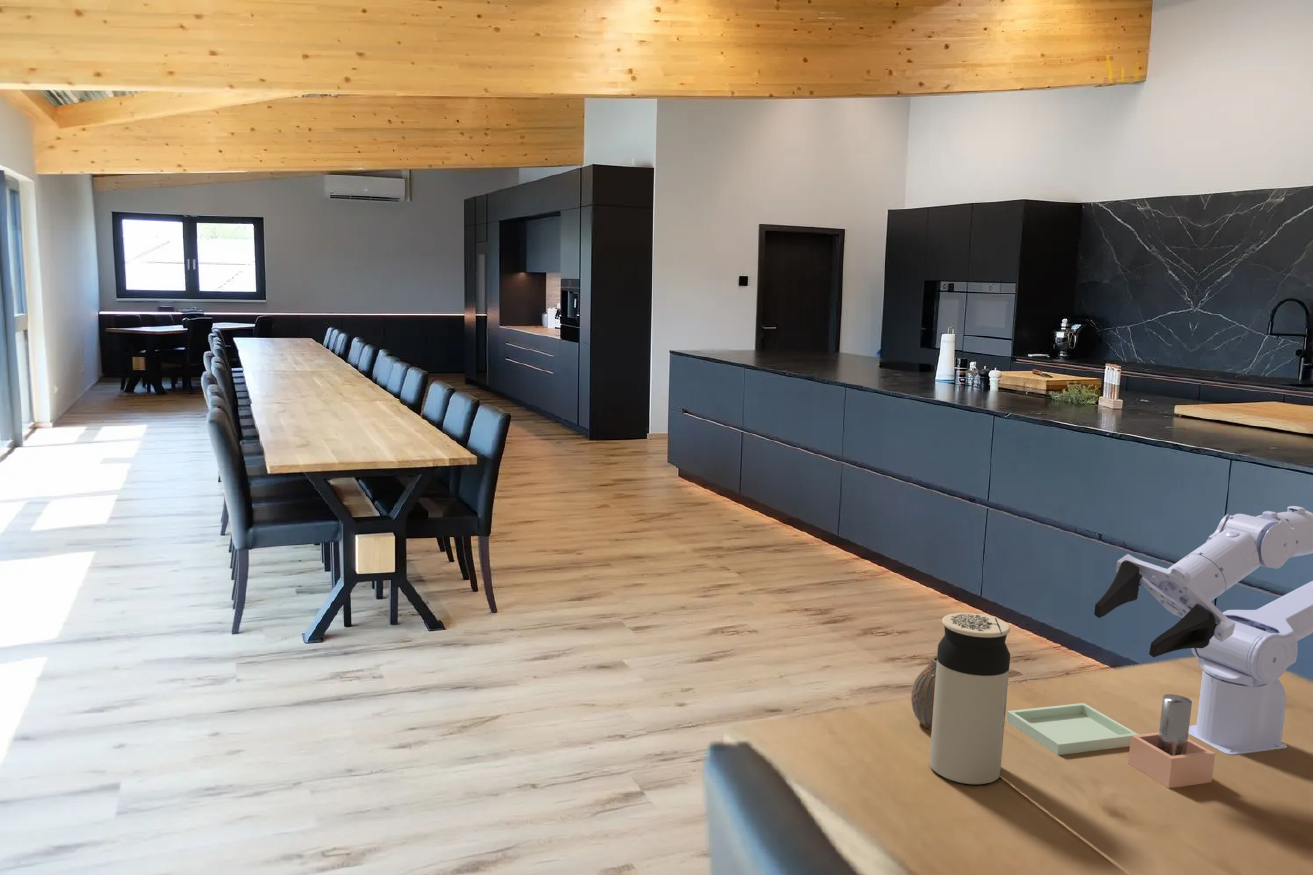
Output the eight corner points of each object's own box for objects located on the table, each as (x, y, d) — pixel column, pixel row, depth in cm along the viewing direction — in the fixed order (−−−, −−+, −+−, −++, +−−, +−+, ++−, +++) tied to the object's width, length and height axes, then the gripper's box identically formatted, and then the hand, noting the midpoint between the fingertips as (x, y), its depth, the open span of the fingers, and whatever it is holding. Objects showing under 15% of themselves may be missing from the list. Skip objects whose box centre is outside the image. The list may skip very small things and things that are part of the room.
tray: (1082, 715, 134) (1083, 702, 134) (1138, 748, 124) (1139, 734, 124) (1005, 724, 130) (1007, 710, 130) (1057, 758, 121) (1058, 744, 121)
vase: (967, 739, 126) (972, 672, 124) (910, 732, 127) (915, 666, 126) (962, 716, 132) (967, 653, 131) (908, 711, 134) (913, 648, 132)
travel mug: (926, 778, 115) (937, 628, 112) (932, 749, 122) (942, 608, 120) (999, 792, 112) (1012, 638, 110) (1000, 762, 120) (1013, 617, 117)
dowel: (1169, 765, 119) (1177, 693, 118) (1189, 776, 116) (1198, 703, 115) (1149, 767, 118) (1156, 695, 117) (1168, 779, 115) (1177, 705, 114)
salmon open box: (1169, 761, 121) (1173, 730, 121) (1211, 785, 115) (1215, 753, 115) (1127, 767, 119) (1131, 735, 119) (1167, 792, 113) (1171, 758, 113)
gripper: (1155, 519, 124) (1076, 571, 120) (1266, 586, 113) (1184, 645, 109) (1148, 559, 128) (1072, 611, 124) (1255, 627, 117) (1175, 686, 113)
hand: (1124, 630), depth 117 cm, fingers open, 7 cm apart
